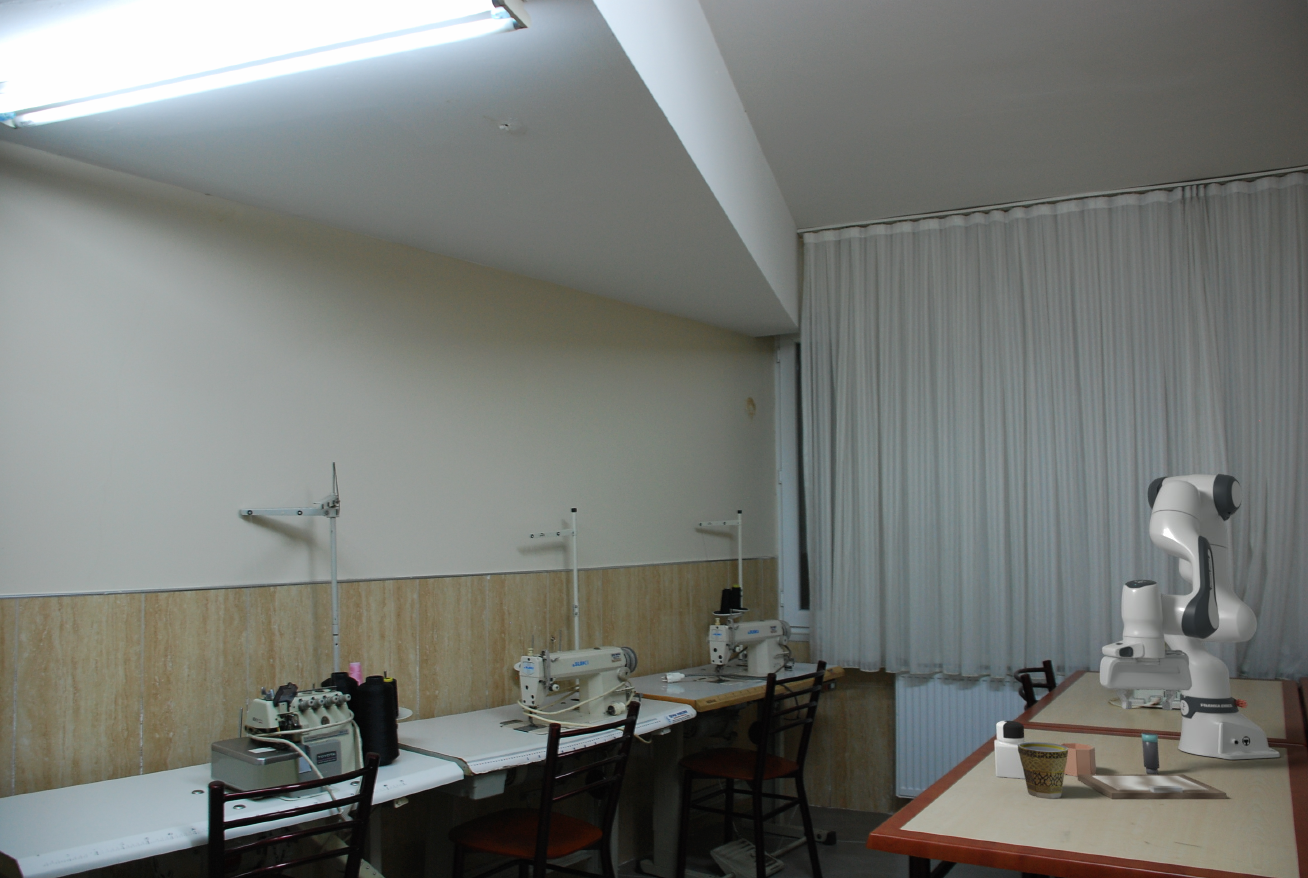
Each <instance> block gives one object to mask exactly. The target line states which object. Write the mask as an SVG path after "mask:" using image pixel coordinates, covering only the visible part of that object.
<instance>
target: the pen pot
mask: <svg viewBox="0 0 1308 878" xmlns="http://www.w3.org/2000/svg"><path fill="white" fill-rule="evenodd" d="M1058 744H1059V745H1063V746H1065V747H1067V748H1068V755H1067V763H1066V767H1065V771H1064V775H1066V774H1068V775H1067V776H1072V775H1073V777H1078V775H1095V774H1096V775H1097V767H1096V766H1097V765H1096V748H1095V747H1094V746H1093V745H1090V744H1085V743H1080V742H1079V743H1078V742H1062V743H1058Z"/></svg>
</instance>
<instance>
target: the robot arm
mask: <svg viewBox="0 0 1308 878" xmlns="http://www.w3.org/2000/svg"><path fill="white" fill-rule="evenodd" d="M1242 498H1243V491H1242V488H1241V484H1240V482H1239V480H1237V478H1236V477H1235V476H1233V475H1229V474H1223V473H1218V474H1209V473H1207V474H1206V473H1192V474H1188V475H1187V474H1184V475H1177V476H1176V475H1175V476H1162V477H1158V478H1155V479H1153V480H1152V482H1150V484H1149V485H1148V488H1147V502H1148V505H1149V508H1150V509H1151V514H1150V520H1149V525H1148V534H1149V537H1150V540H1151V541H1152V543H1153V544H1154V545H1155V546H1156V547H1157V548H1158V550H1161V551H1162V552H1163V553H1166V554H1168V555H1170V556H1173V557H1175V558H1177V559H1178V572H1179V574H1180V577H1181V578H1182V579H1183V580H1184V581H1186V582H1188V584H1191V585H1192V591H1191V592H1190V593H1189V594H1164V593H1162V592H1161V589H1160V586H1159V583H1158V582H1157V581H1155V580H1152V579H1135V580H1129V581H1127V582H1125V583H1124V584H1123V587H1122V591H1121V592H1122V593H1121V600H1120V601H1121V603H1120V604H1121V607H1120V608H1121V611H1120V613H1121V621H1122V623H1123V629H1122V630H1123V631H1122V640H1119V641H1116V642H1112V643H1110V644H1106V645H1104V646H1102V647H1101V652H1102V654H1103V655H1104V656H1103V657H1102V658H1101V661H1100V665H1099V682H1100V683H1099V684H1101V686H1102V687H1103V688H1104V689H1108V690H1115V692H1116V695H1117V696H1118V698H1119V699H1120V701H1121V708H1122V709H1124V710H1132V709H1133V706H1132V705H1133V702H1132V701H1131V700H1130V701H1129V700H1128V698H1127V696H1126V695H1127V692H1128V691H1127V690H1134V691H1135V690H1141V691H1142V690H1144V691H1145V690H1146V691H1149V690H1150V691H1165V694H1166V695H1167V696H1166V698H1165V700H1162V701H1161V705H1162V706H1161V708H1162V710H1166V711H1172V710H1173V702H1174V700H1175V699H1176V697H1177V691H1180V692H1181V693H1180V694H1179V705H1180V706H1179V707H1180V714H1181V716H1182V717H1181V733H1180V738H1179V743H1178V746H1177V748H1178V750H1180V751H1182V752H1185V753H1189V754H1192V755H1199V756H1205V757H1212V758H1213V757H1214V758H1220V759H1225V760H1246V759H1250V760H1251V759H1267V758H1268V759H1269V758H1270V759H1271V758H1280V757H1281V756H1280V752H1279V751H1278V750H1276V749H1274V748H1271V747H1270V746H1269V743H1268V737H1267V735H1266V733H1265V731H1264V730H1263V729H1262V728H1261V726H1259V725H1257V724H1256V723H1255V722H1253V721H1252V720H1251V719H1249V718H1248V717H1246V716H1245V715H1244V714H1243V713H1242V712H1240V710H1239V708H1242V709H1246V708H1247V707H1248V702H1247V701H1246V700H1245V699H1241V698H1238V699H1236V698H1234V697H1233V696H1232V695H1231V693H1232V692H1231V684H1230V681H1231V680H1230V670H1229V668H1228V666H1227V665H1226V663H1225V662H1224V661H1223V660H1221V659H1220V658H1218V657H1216V655H1215V656H1214V655H1213V654H1211V652H1209V650H1208V648H1207V647H1206V645H1205V642H1207V643H1208V642H1209V643H1220V644H1233V643H1234V644H1236V643H1243V642H1249V640H1251V639H1252V638H1253V637H1254V635H1255V634H1256V631H1257V628H1258V622H1257V621H1258V620H1257V616H1256V615H1255V612H1254V611H1253V610H1252V608H1251V607H1250V605H1248V604H1246V603H1245V602H1244V601H1243V600H1241V599H1240V597H1238V595H1237V594H1236V592H1235V591H1234V590H1233V587H1232V586H1231V584H1230V579H1229V570H1228V567H1229V566H1228V550H1229V549H1228V548H1229V547H1228V546H1229V544H1228V541H1229V540H1228V530H1227V522H1226V521H1228V520H1229V519H1230V517H1231V516H1233V515H1234V514H1235V513H1236V512H1237V511H1238V510H1239V509H1240V507H1241V505H1242V500H1243V499H1242ZM1166 644H1167V645H1168V647H1169V648H1170V649H1166Z"/></svg>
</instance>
